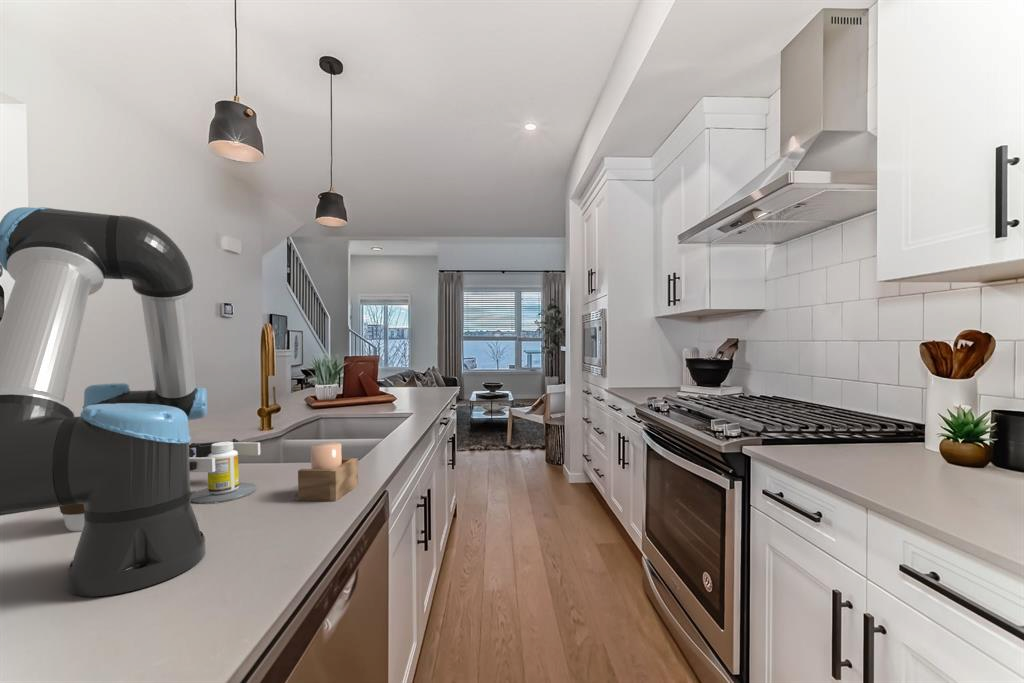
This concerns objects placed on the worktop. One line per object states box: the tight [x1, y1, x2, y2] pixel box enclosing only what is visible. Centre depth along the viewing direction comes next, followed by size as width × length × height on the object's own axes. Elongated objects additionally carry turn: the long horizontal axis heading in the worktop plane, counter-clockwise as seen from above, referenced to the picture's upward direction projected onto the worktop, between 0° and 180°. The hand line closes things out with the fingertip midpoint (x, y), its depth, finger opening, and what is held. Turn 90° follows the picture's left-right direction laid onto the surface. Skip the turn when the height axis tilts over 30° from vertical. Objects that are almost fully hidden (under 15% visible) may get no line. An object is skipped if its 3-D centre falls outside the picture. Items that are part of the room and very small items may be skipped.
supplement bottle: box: [206, 441, 240, 495], centre depth 96 cm, size 6×6×10 cm
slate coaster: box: [190, 482, 258, 504], centre depth 96 cm, size 12×12×1 cm
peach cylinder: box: [310, 441, 343, 469], centre depth 96 cm, size 6×6×10 cm
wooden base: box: [293, 457, 359, 502], centre depth 96 cm, size 10×9×6 cm
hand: (238, 456), depth 96 cm, fingers open, 13 cm apart
